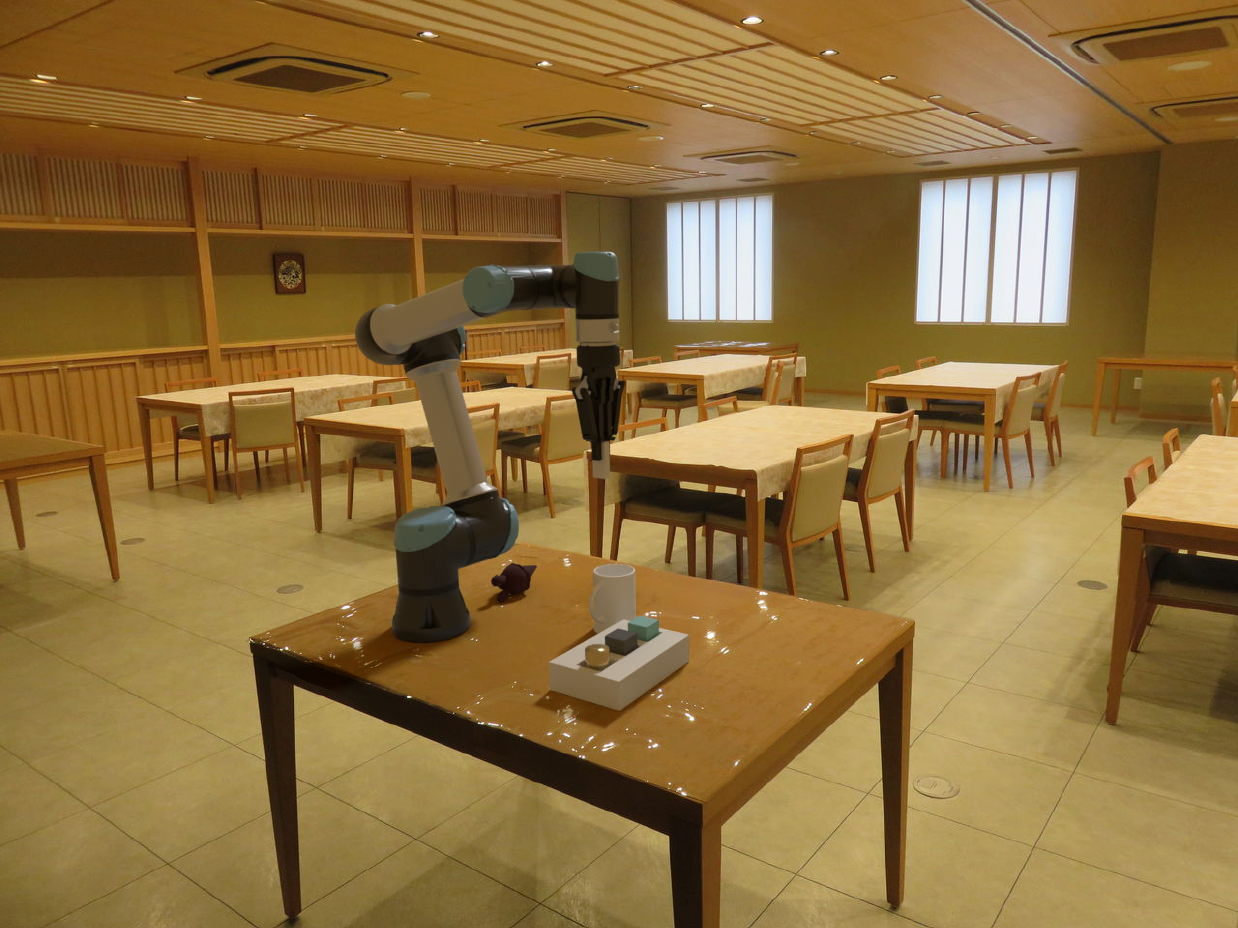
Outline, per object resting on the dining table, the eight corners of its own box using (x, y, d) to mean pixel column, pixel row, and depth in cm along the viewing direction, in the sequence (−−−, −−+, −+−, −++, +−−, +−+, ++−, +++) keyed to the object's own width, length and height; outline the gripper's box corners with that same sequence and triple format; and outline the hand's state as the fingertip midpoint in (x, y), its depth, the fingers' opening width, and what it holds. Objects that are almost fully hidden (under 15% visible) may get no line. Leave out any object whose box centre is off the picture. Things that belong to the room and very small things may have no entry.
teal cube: (628, 646, 160) (627, 622, 159) (640, 639, 163) (639, 615, 162) (647, 651, 158) (646, 627, 157) (659, 643, 161) (658, 619, 160)
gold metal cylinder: (580, 675, 149) (580, 650, 148) (595, 667, 152) (594, 642, 151) (600, 681, 147) (600, 655, 146) (614, 672, 150) (614, 647, 149)
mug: (604, 646, 168) (603, 584, 165) (572, 634, 173) (570, 575, 171) (646, 627, 176) (645, 568, 174) (614, 617, 182) (612, 560, 179)
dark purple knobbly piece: (518, 552, 204) (477, 578, 192) (544, 549, 200) (503, 574, 188) (527, 581, 205) (487, 608, 193) (553, 578, 201) (513, 605, 189)
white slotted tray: (550, 689, 150) (549, 661, 149) (623, 644, 168) (623, 619, 167) (619, 710, 143) (618, 681, 142) (689, 661, 160) (689, 634, 159)
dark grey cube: (605, 660, 154) (604, 636, 153) (618, 652, 158) (618, 628, 157) (624, 665, 152) (624, 640, 151) (637, 657, 155) (637, 632, 154)
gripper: (593, 347, 148) (597, 487, 153) (637, 341, 158) (639, 472, 163) (557, 346, 152) (562, 482, 157) (602, 340, 163) (605, 468, 168)
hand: (601, 477), depth 160 cm, fingers closed
